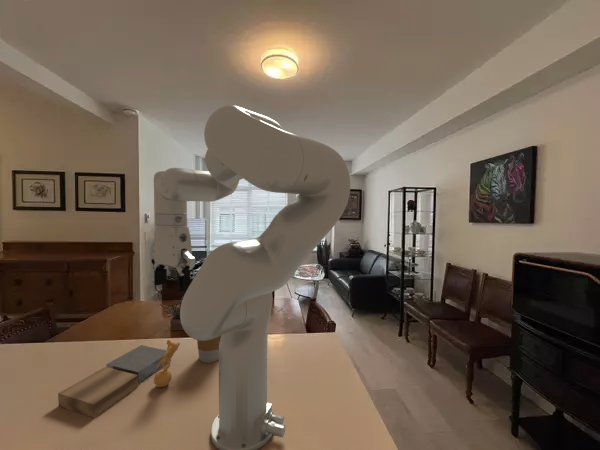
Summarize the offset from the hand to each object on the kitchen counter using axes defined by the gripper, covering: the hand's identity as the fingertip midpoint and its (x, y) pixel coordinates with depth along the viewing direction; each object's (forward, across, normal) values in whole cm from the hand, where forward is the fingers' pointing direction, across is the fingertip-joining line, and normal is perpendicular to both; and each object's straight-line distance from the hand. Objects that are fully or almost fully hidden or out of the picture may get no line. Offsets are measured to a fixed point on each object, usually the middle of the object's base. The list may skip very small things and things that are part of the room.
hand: (171, 287), depth 73 cm
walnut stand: (+24, +8, +14) cm, 29 cm away
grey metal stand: (+24, +12, +2) cm, 27 cm away
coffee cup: (+24, 0, -12) cm, 27 cm away
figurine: (+24, -2, +3) cm, 25 cm away
